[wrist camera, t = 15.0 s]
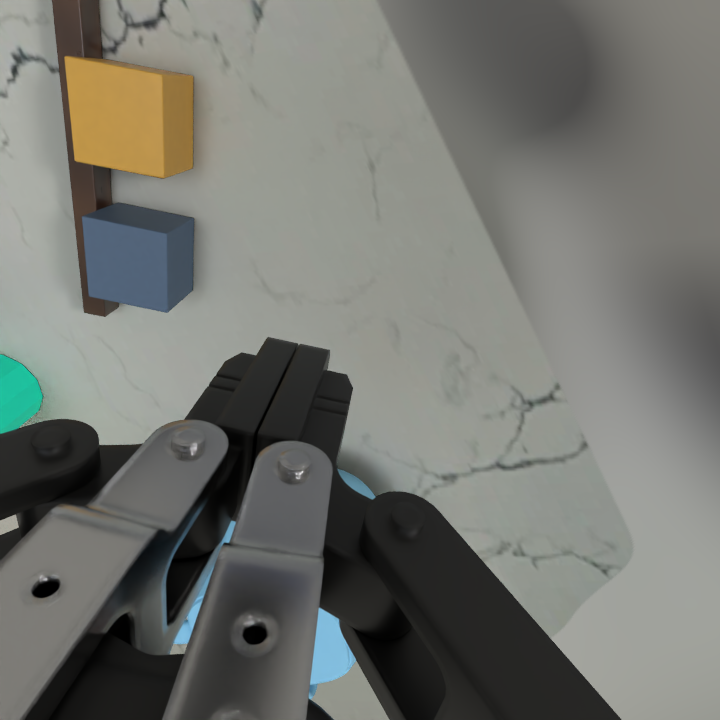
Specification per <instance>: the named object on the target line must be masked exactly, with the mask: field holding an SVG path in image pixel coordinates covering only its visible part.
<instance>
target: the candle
mask: <svg viewBox="0 0 720 720" xmlns="http://www.w3.org/2000/svg"><path fill="white" fill-rule="evenodd" d="M42 398H43V395H42V392H41V390H40V387H39V384H38V381H37V379H36V378H35V377H34V376H33V375H32V374H31V373H30V372H29V371H28V370H27V369H26V368H25V367H24V366H23V365H22V364H21V363H19V362H17V361H15V360H13V359H10V358H8V357H6V356H4V355H1V354H0V434H2V433H5V432H9V431H12V430H15V429H18V428H19V427H20V426H21V425H22V424H24V423H25V422H26V421H27V420H28V419H29V418H31V417H32V416H33V415H34V414H35V413H37V412H38V411H39V409H40V406H41V402H42Z"/></svg>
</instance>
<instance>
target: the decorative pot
mask: <svg viewBox="0 0 720 720" xmlns="http://www.w3.org/2000/svg"><path fill="white" fill-rule="evenodd" d="M338 472H339V474H340V476H341V478H342V479H343V480H344V481H345V483H346V484H347V485H349V486H350V487H351V488H352V489H354V490H355V491H357V492H358V493H360V494H362V495H364V496H366V497H368V498H370V499H372V500H373V499H374V498H375V495H374V494H373V493H372V491H371V490H370V489H369V488H368V487H367V486H366V485H365V484H364V483H363V482H362V481H361V480H360V479H358V478H357V477H355V476H354V475H352V474H350V473H348V472H345V471H343V470H340V469H338ZM235 523H236V522H235V521H231V522H230V524H229V527H228V529H227V531H226V534H225V536H224V538H223V539H222V545H223V543H224V542H226V543H229V541H230V539H231V536H232V533H233V530H234V526H235ZM213 568H214V567H213ZM213 568H212V570H211V572H210V574H209V576H208V578H207V580H206V582H205V584H204V585H203V587H202V589H201V591H200V593H199V595H198V597H197V599H196V600H195V602H194V604H193V606H192V608H191V610H190V612H189V614H188V620H185V621H184V623H183V625H182V627H181V629H180V631H179V632H178V634H177V636H176V639H175V641H174V643H175V644H186V643H188V642H189V639H190V636H191V633H192V630H193V627H194V624H195V621H196V618H197V615H198V612H199V609H200V606H201V603H202V600H203V597H204V594H205V591H206V589H207V586H208V583H209V580H210V577H211V574H212V571H213ZM355 662H356V659H355V657H354V655H353V653H352V652H351V650H350V648H349V646H348V644H347V643H346V641H345V639H344V637H343V635H342V633H341V630H340V626H339V619H338V618H336V617H334V616H333V615H331V614H329V613H328V612H326V611H324V610H323V609H321V608H319V612H318V620H317V629H316V637H315V646H314V655H313V663H312V672H311V680H310V689H309V699H312V698H313V696H314V695H315V692H316V689H317V685H318V684H319V683H324V682H328V681H332V680H334V679H337V678H339V677H341V676H343V675H344V674H346V673H347V672H348V671H349V669H350V668H351V667H352V666H353V664H354V663H355Z"/></svg>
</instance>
